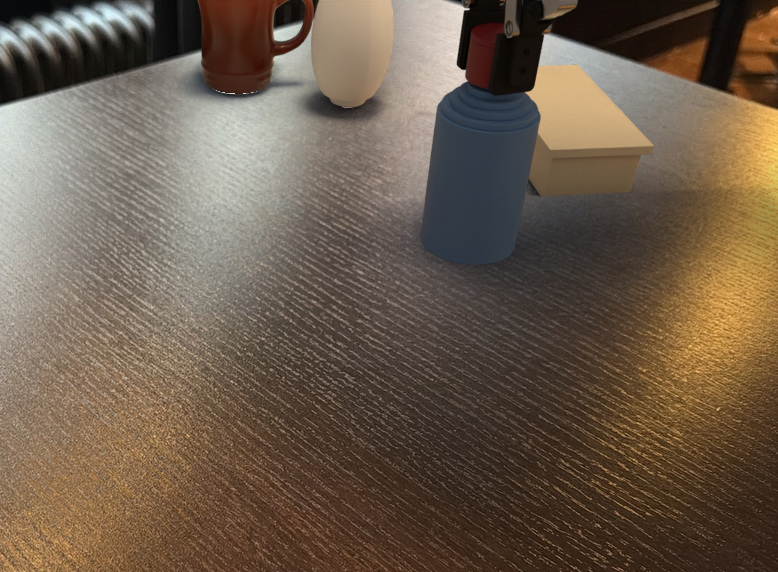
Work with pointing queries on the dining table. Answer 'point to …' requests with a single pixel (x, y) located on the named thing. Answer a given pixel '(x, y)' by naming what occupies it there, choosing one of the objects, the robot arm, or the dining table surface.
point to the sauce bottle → (351, 48)
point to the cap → (482, 53)
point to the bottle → (478, 174)
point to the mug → (243, 42)
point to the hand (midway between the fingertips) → (494, 76)
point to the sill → (581, 137)
